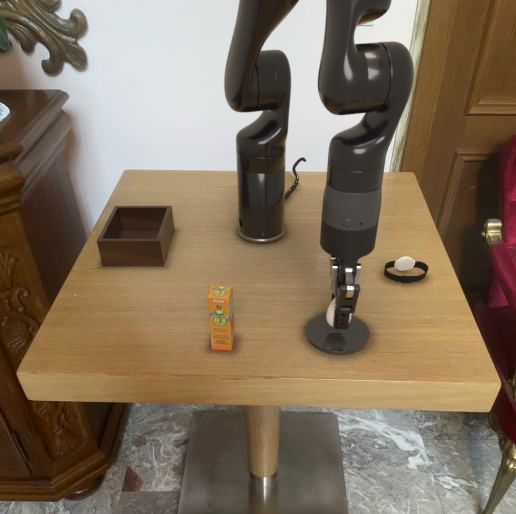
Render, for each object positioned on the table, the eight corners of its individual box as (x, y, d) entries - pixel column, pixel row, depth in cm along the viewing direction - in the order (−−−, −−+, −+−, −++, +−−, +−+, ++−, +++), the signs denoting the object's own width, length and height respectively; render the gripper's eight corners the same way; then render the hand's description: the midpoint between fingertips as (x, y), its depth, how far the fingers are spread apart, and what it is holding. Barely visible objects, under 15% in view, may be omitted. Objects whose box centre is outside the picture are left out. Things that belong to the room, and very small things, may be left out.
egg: (327, 332, 79) (330, 303, 76) (323, 317, 82) (326, 288, 79) (352, 331, 80) (355, 302, 76) (347, 317, 82) (351, 287, 79)
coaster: (314, 310, 87) (314, 307, 87) (374, 321, 84) (374, 318, 84) (297, 347, 80) (297, 344, 79) (363, 360, 77) (363, 357, 77)
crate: (119, 229, 110) (114, 205, 106) (174, 229, 109) (171, 205, 106) (102, 266, 98) (96, 240, 95) (163, 266, 98) (160, 240, 95)
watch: (423, 270, 96) (427, 253, 94) (428, 284, 93) (433, 266, 90) (381, 270, 96) (383, 252, 94) (385, 284, 93) (388, 266, 91)
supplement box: (210, 351, 79) (205, 296, 73) (215, 336, 82) (210, 282, 75) (232, 352, 79) (229, 297, 72) (236, 338, 82) (233, 284, 75)
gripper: (388, 241, 64) (370, 348, 75) (370, 192, 75) (357, 293, 86) (326, 241, 64) (317, 348, 75) (318, 192, 75) (311, 293, 86)
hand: (338, 318), depth 80 cm, fingers closed on egg, 3 cm apart
